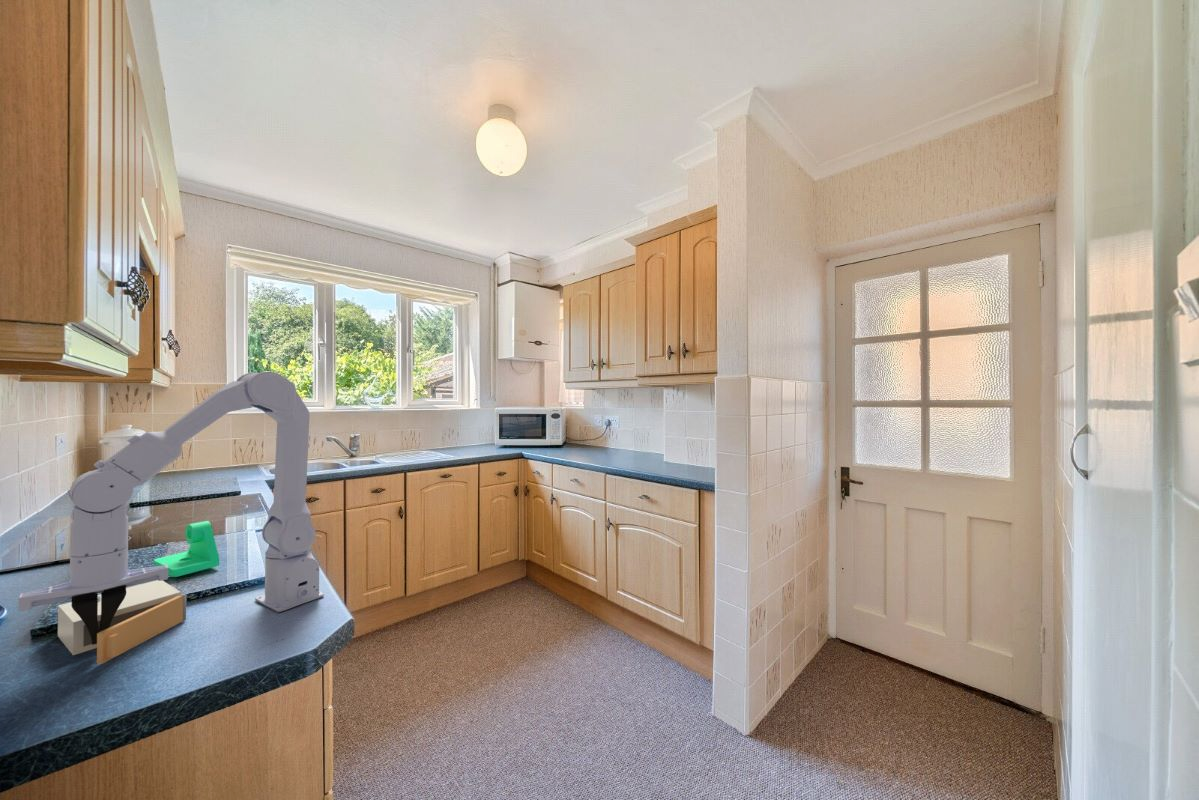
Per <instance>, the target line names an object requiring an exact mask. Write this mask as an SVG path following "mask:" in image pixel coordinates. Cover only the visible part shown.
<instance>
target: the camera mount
mask: <svg viewBox="0 0 1199 800" xmlns="http://www.w3.org/2000/svg"><path fill="white" fill-rule="evenodd" d="M184 533H185V539H186V542H187V544H189V547H188V550H187V551H184V552H178V553H175V554H171V555H166V556H162V557H158V558H155V559H153V567H155V566H161V565H167V566H168V576H171V577H170V578H177V577H181V576H185V575H189V574H193V573H197V572H200V571H205V570H209V569H211V568H215V567H219V566H220V556H219V551H218V547H217V545H216V544H217V543H216V540H215V534H214V532H213V527H212V523H211V522H210V521H209V520H205V521H204V520H203V521H200V522H199V521H198V522H193V523H188V524H187V525H186V527H185V532H184Z"/></svg>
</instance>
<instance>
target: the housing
mask: <svg viewBox="0 0 1199 800" xmlns="http://www.w3.org/2000/svg"><path fill="white" fill-rule="evenodd" d="M180 594H182V593H181V591H180V590H178V589H176V588H175V587H174V586H172V585H170V584H169V583H168V582H166V581H165V580H162V581H158V580H156V581H151V582H147V583H142V584H138V585H133V586H128V587H126V596H125V598H124V600H123V601H122V603H121V604H120V606H119V608H118V609H117V611H116V613H115V615H114V617H113V619H112V622H111V624H110V627H112V626H114V625H116V624H118V623H121V622H123V621H125V620H127V619H129V618H131V617H133V616H136V615H138V614H140V613H142V612H144V611H146V610H149V609H151V608H153V607H155V606H157V605H159V604H161V603H164V602H166V601H168V600H170V599H172V598H174V597H176V596H178V595H180ZM71 605H72V601H70V602H66V603H62V604H58V606H57V637H58V638H59V640H60V641H61V642H62V644H64V646H65V648H66V649H67V651H69V652H70V653H71V654H72V656H75V655H79V654H82V653H85V652H86V653H87V652H88V651H91V650H95V649H97V644H94V645H92V640H91V636H90V633H89V631H88V629H87V627H86V625H85V623H84V622H83V620H82V619H81V618H80V617H79V615H78V614H77V613H76V612H75V611H74V610H73V608H72V606H71ZM97 619H98V627H100V620H101V594H98V615H97ZM110 627H109V628H110Z"/></svg>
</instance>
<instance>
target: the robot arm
mask: <svg viewBox="0 0 1199 800" xmlns="http://www.w3.org/2000/svg"><path fill="white" fill-rule="evenodd" d="M252 408H256V409H257V410H258V409H259V410H261V411H262V412H263V413H265V415H267V416H269V417H270V418H271V419H273V420H274V421H275V422H276V438H275V439H276V440H275V441H276V442H275V461H274V462H275V464H274V465H275V466H274V483H273V484H274V485H273V486H274V487H273V503H272V505H271V506H270V507H269V509H268V516H267V520H266V522H265V524H264V525H263V528H262V529H261V530H262V531H261V537H262V539H263V541H264V542H265V543H266V544H268V548H267V549H266V551H265V555H264V556H265V559H264V560H265V562H264V564H265V566H264V594H262V595H259V596H255V598H254V601H256V602H258V603H259V604H262V605H264V606H266V607H268V608H270V609H271V610H272V611H274V612H277V613H281V612H284V611H287V610H289V609H292V608H294V607H298V606H300V605H303V604H305V603H309V602H311V601H314V600H317V599H319V598H322V597H324V596H325V593H324V592H322V591H320V565H319V563H318V561H317V560H316V559H315V558H314V557H313V556H312V546H313V544H314V543H315V540H316V535H317V533H316V530H315V529H316V528H315V527H314V525H313V524H312V513H311V510H310V509H309V507H308V503H307V501H306V500H307V482H308V481H307V480H308V460H309V459H308V458H309V457H308V455H309V437H310V436H309V435H310V411H309V409H308V407H307V406H306V404H305V402H304V401H303V399H302V398H301V396H300V394H299V393H298V392H297V389H296V384H294V383H293V382H292V381H290V380H289V378H286V377H285V376H284V375H282V374H280V373H278V372H276V371H268V370H267V371H261V372H248V373H245V374H242V375H241V376H240V377H238V378H237V379H236V380H235V381H231V382H229V383H227V384H225V385H224V386H222V387H220V388H219V389H217V390H216V391H214V392H213V393H211V394H210V395H209V396H208V397H206V398H205V399H203V401H201V402H200V403H198V404H196V406H194V407H193V408H192V409H190V410H189V411H188V412H186V413H185V414H183V416H181V417H180V418H179V419H178V420H176V421H175V422H174V423H172V424H171V425H170V426H168V427H167V428H165V429H164V430H162V431H146V432H145V433H143V434H142V435H140V436H139V435H138V434H137V435H136V434H133V435H132V436H131V437H128V438H129V439H127V440H126V442H128V444H127V445H126V446H124V447H123V448H122V449H120V450H119V451H117V452H115V453H114V454H113V455H112V456H110V457H109V458H107V459H105V460H101V459H100V460H98V461H96V462H95V463H94V464H93V466H94V467H95V468H97V469H94V470H89V471H87V472H84V473H82V474H80V475H79V476H77V478H75V479H74V481H73V482H72V483H71V486H70V488H69V489H68V490H67V493H68V497H69V498H70V500H71V501H72V502H73V503H74V505H73V509H72V510H71V519H72V522H71V523H70V524H69V525H70V527H69V528H70V529H69V531H70V532H69V533H70V534H69V537H70V539H69V581H68V582H64V583H60V584H56V585H51V586H47V587H44V588H41V589H40V588H39V589H36V590H32V591H28V592H27V591H26V592H22V593H20V594H19V596H18V607H17V608H18V609H17V611H18V612H25V611H29V610H31V609H33V608H35V607H41V606H45V605H49V604H54V603H58V602H59V603H60V602H63V601H64V602H65V601H68V600H71V602H72V605H71V606H72V608H73V610H74V611H75V612H76V613H77V614H78V615H79V617H80V618H81V619H82V620H83V622H84V623H85V625H86V627H87V629H88V631H89V633H90V636H91V640H92V645H94V644H97V633H99V632H101V631H103V630H105V629H108V628H109V627H110V624H111V622H112V619H113V617H114V615H115V613H116V611H117V609H118V608H119V606H120V604H121V603H122V601H123V600H124V598H125V596H126V588H128V587H132V586H136V585H140V584H144V583H148V582H152V581H156V580H158V581H162V580H163V581H166V580H169V578H168V566H167V565H161V566H155V567H154V566H150V567H149V566H148V567H142V568H133V569H129V515H127V503H128V502H129V501H130V499H131V498H132V496H133V494H134V488H136V487H137V488H138V487H140V486H143V485H144V484H145V483H147V482H148V481H149V480H151V479H152V478H153V477H155V476H156V475H158V474H159V473H160V472H161V471H163V470H164V469H165V468H166V467H168V466H169V465H170V464H171V463H173V462H174V461H176V460H177V459H179V458H180V457H181V456H182V446H183V444H184V443H186V442H187V441H189V440H190V439H192V438H194V436H197V434H199V433H200V432H202V431H203V430H204V429H206V428H207V427H209V426H211V425H212V424H213V423H215V422H216V421H218V420H219V419H221V418H222V417H223V416H225V415H226V414H228V413H230V412H234V411H235V412H237V411H241V410H246V409H252ZM99 594H100V595H101V620H100V627H98V619H97V615H98V595H99Z"/></svg>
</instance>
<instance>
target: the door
mask: <svg viewBox="0 0 1199 800" xmlns="http://www.w3.org/2000/svg"><path fill="white" fill-rule="evenodd" d="M186 620H187V593H181V594H180V595H178V596H176V597H174V598H172V599H170V600H168V601H166V602H164V603H161V604H159V605H157V606H155V607H153V608H151V609H149V610H146V611H144V612H142V613H140V614H138V615H136V616H133V617H131V618H129V619H127V620H125V621H123V622H121V623H118V624H116V625H114V626H112V627H110V628H108V629H105V630H103V631H101V632H99V633H97V648H96V665H97V664H98V665H102V664H103V665H104V664H105V663H107V662H108V661H110V660H112V659H115V658H116V657H118V656H120V655H121V654H123V653H125V652H127V651H129V650H132V649H133V648H135V647H137V646H138V645H141V644H142V643H144V642H147V641H148V640H150V639H153V637H156V636H158V635H159V634H161V633H163V632H165V631H167V630H168V629H170V628H173V627H174V626H176V625H178V624H180V623H182V622H184V621H186Z"/></svg>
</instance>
